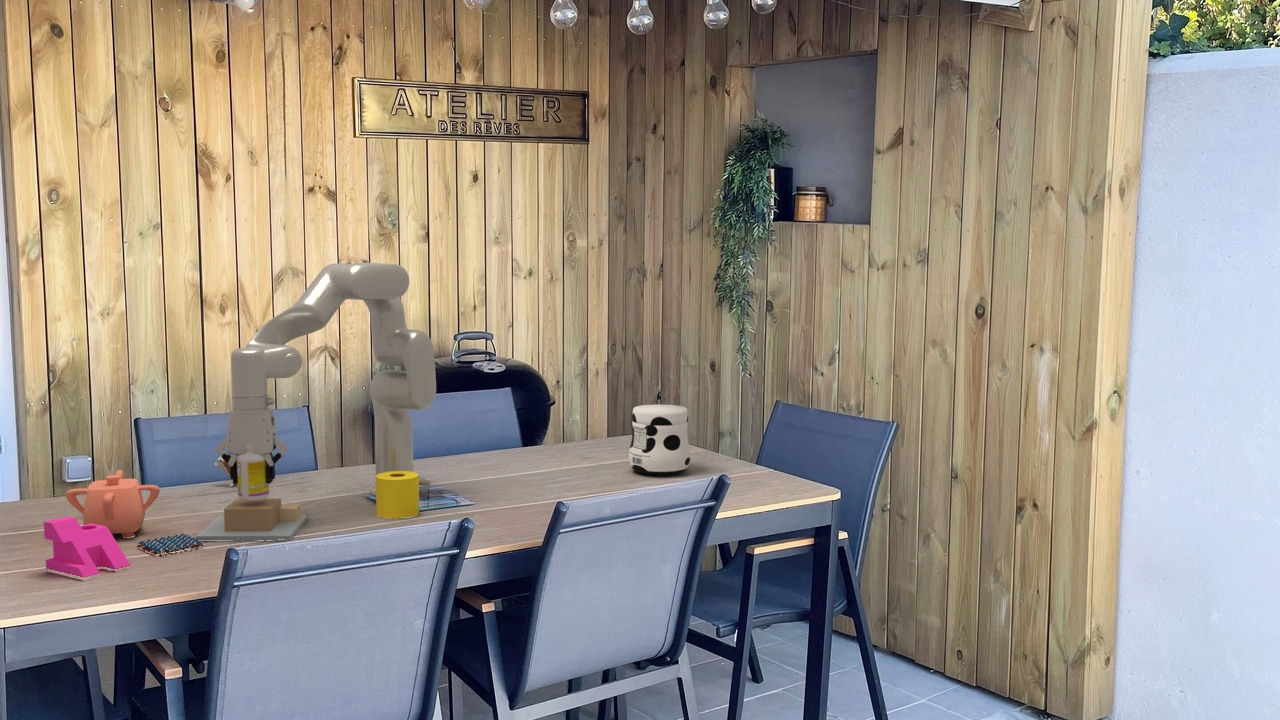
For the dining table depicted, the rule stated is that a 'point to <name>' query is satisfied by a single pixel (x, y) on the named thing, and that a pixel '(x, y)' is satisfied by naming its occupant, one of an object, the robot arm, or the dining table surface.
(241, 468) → the supplement bottle
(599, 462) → the dining table surface
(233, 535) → the board
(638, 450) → the milk container
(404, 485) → the yellow toilet paper roll
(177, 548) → the woven mat
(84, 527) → the bracket
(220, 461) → the bull figurine
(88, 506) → the teapot
